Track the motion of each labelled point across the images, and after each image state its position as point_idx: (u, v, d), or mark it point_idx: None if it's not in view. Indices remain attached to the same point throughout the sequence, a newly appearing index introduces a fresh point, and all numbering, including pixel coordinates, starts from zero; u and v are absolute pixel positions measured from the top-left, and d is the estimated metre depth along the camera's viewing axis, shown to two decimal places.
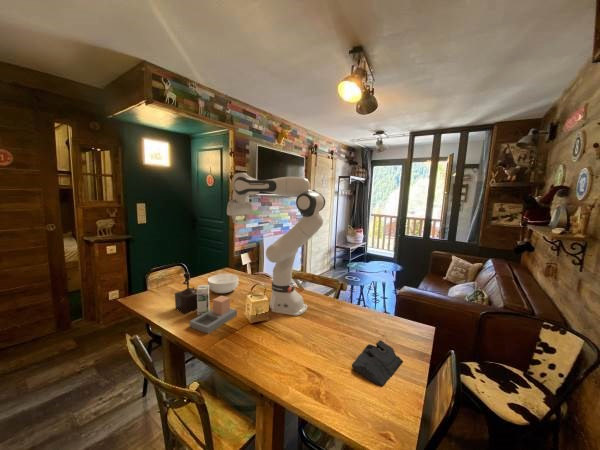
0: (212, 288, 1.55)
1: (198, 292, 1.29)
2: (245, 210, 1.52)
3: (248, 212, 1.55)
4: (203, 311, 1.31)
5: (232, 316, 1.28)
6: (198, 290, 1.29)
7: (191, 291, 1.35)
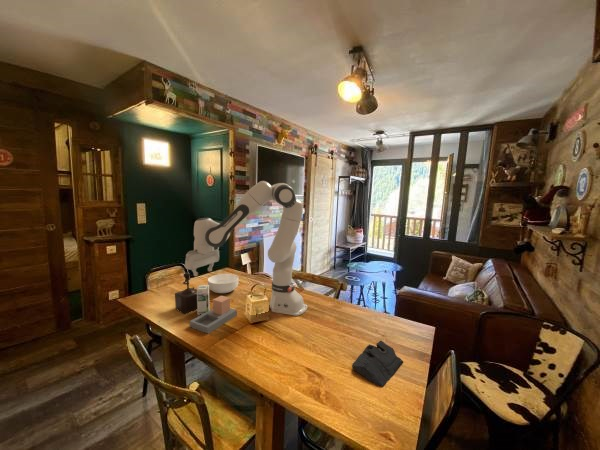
0: (212, 288, 1.55)
1: (198, 292, 1.29)
2: (209, 259, 1.32)
3: (213, 260, 1.35)
4: (203, 311, 1.31)
5: (232, 316, 1.28)
6: (198, 290, 1.29)
7: (191, 291, 1.35)
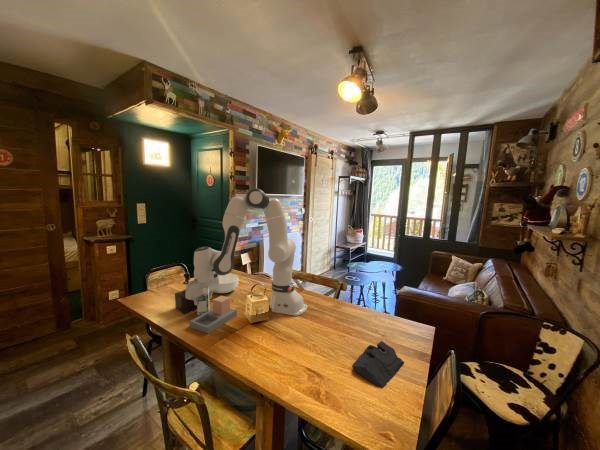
0: None
1: None
2: (209, 287, 1.34)
3: (213, 288, 1.37)
4: (203, 311, 1.31)
5: (232, 316, 1.28)
6: None
7: None
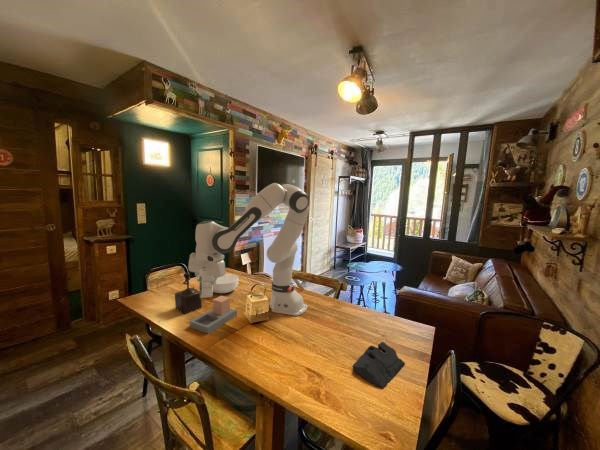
0: None
1: None
2: (207, 270, 1.14)
3: (213, 274, 1.13)
4: None
5: (232, 316, 1.28)
6: None
7: (191, 291, 1.35)
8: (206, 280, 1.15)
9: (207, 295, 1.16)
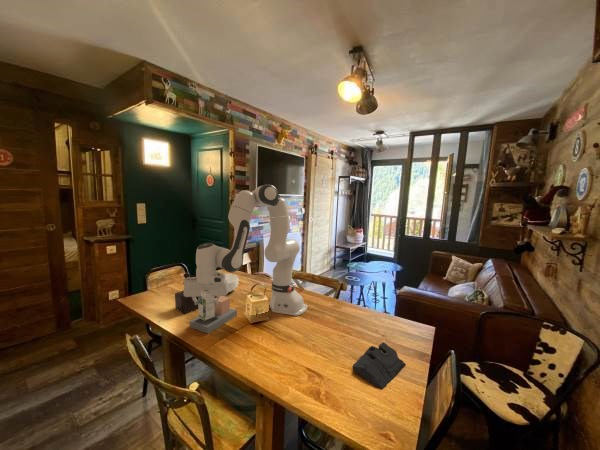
0: None
1: None
2: (211, 291, 1.17)
3: (218, 294, 1.18)
4: (201, 315, 1.17)
5: (232, 316, 1.28)
6: None
7: None
8: (209, 302, 1.17)
9: (210, 316, 1.19)
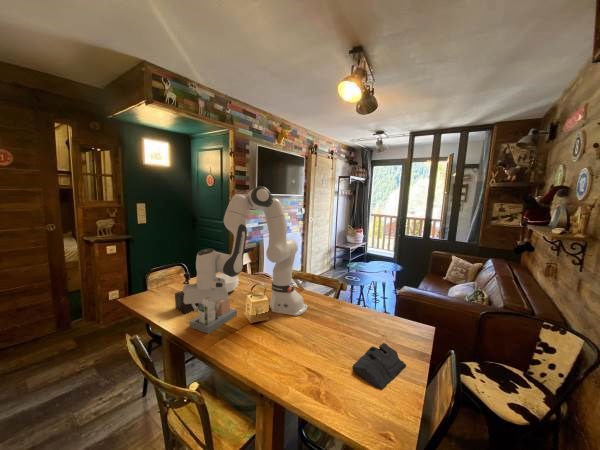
0: None
1: None
2: (212, 297, 1.18)
3: (219, 299, 1.19)
4: (202, 323, 1.17)
5: (232, 316, 1.28)
6: None
7: None
8: (211, 309, 1.18)
9: None
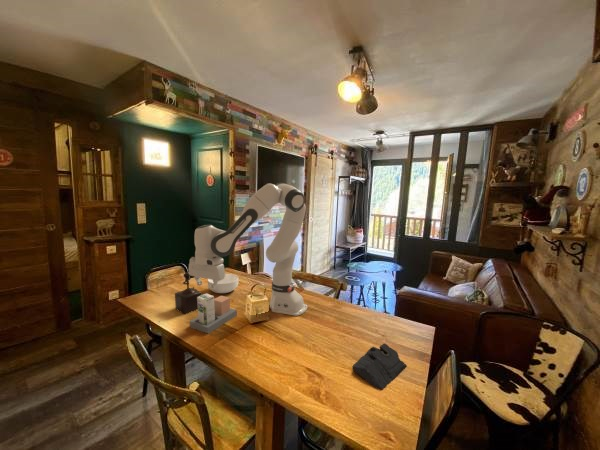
0: (212, 288, 1.55)
1: (198, 300, 1.17)
2: (207, 274, 1.15)
3: (212, 277, 1.14)
4: (202, 323, 1.17)
5: (232, 316, 1.28)
6: (198, 299, 1.17)
7: (191, 291, 1.35)
8: (210, 309, 1.18)
9: None
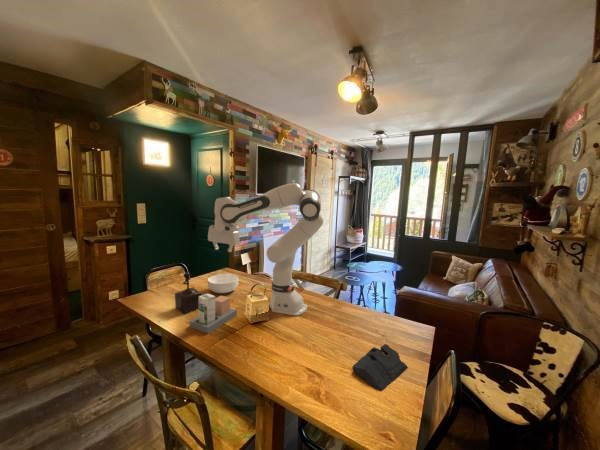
0: (212, 288, 1.55)
1: (199, 300, 1.18)
2: (224, 239, 1.33)
3: (229, 242, 1.31)
4: (202, 323, 1.18)
5: (232, 316, 1.28)
6: (199, 298, 1.18)
7: (191, 291, 1.35)
8: (210, 309, 1.18)
9: None
